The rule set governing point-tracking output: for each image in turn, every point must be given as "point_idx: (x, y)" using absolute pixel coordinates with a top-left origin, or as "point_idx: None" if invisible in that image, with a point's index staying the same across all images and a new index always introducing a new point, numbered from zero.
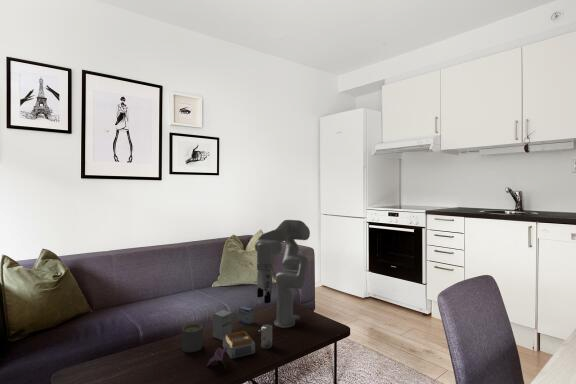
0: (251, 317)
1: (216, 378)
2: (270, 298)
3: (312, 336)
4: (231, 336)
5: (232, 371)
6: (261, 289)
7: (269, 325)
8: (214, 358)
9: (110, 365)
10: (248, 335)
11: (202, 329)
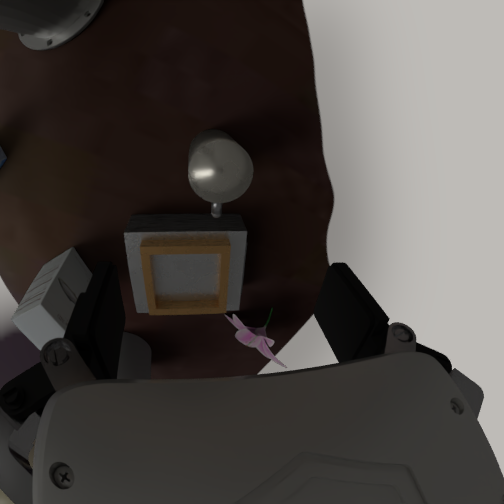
0: None
1: (297, 328)
2: (364, 290)
3: None
4: (155, 293)
5: (295, 297)
6: (95, 357)
7: (211, 151)
8: (262, 346)
9: None
10: (194, 247)
11: (125, 375)
